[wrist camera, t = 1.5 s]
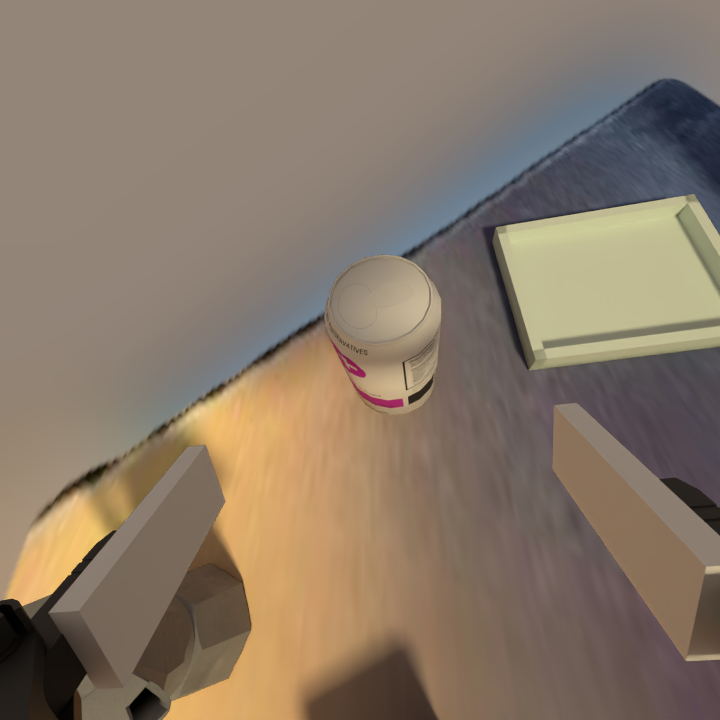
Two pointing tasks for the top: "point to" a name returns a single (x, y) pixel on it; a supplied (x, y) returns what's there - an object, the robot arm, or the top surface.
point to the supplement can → (386, 331)
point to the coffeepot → (177, 649)
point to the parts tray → (613, 282)
